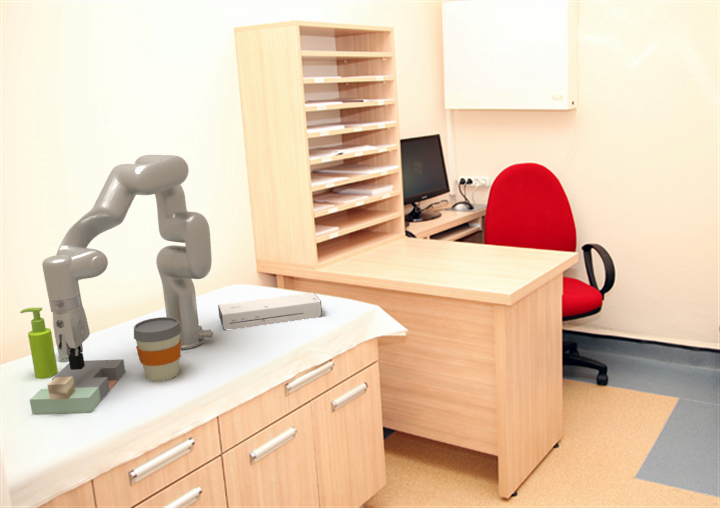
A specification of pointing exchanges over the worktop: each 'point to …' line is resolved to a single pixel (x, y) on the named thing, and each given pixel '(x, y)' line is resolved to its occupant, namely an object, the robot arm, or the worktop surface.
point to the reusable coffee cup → (159, 347)
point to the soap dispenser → (41, 346)
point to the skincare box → (61, 356)
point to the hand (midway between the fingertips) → (77, 368)
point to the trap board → (81, 388)
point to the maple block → (61, 388)
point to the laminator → (269, 311)
